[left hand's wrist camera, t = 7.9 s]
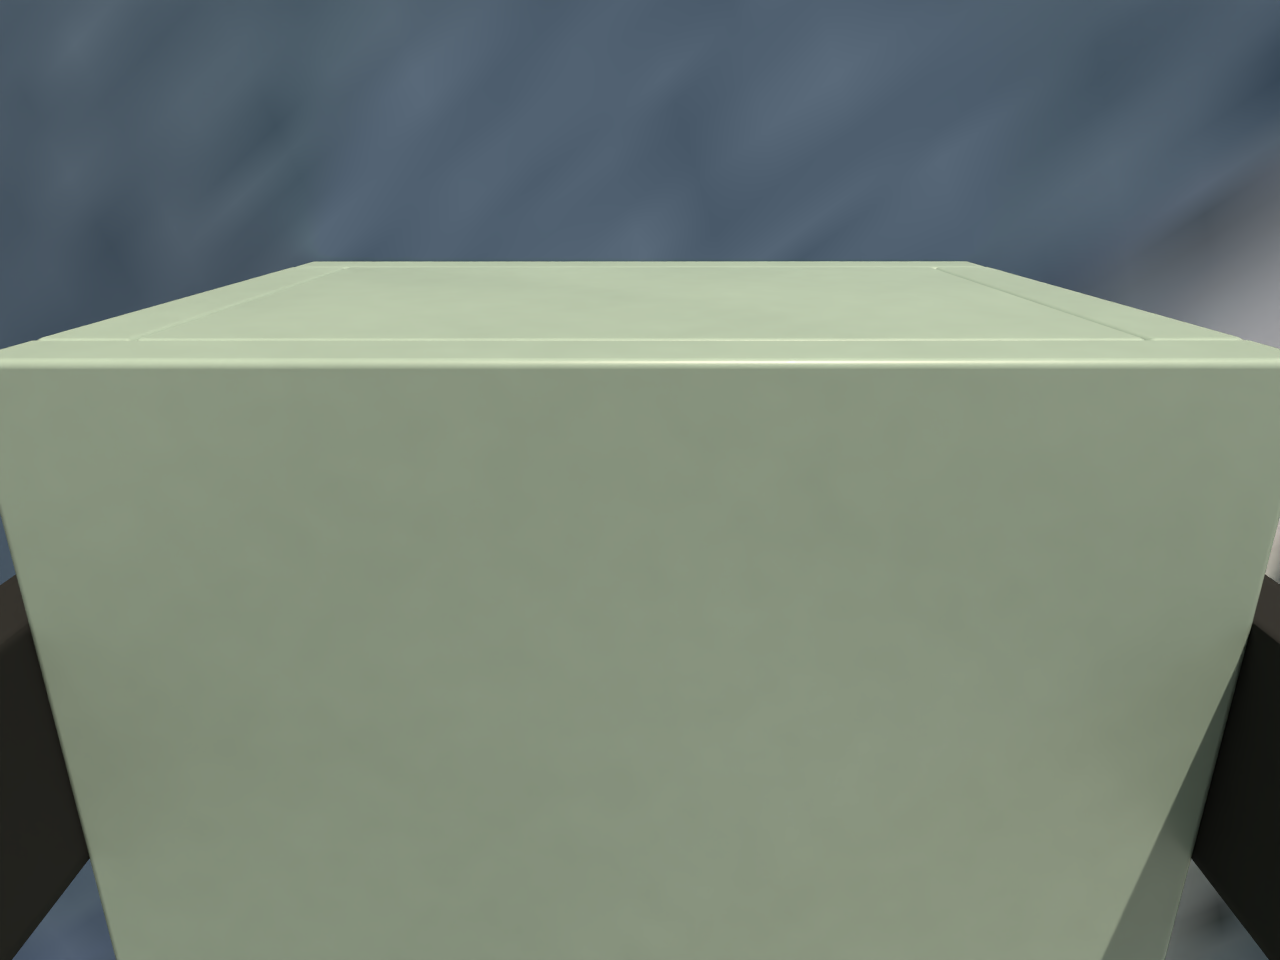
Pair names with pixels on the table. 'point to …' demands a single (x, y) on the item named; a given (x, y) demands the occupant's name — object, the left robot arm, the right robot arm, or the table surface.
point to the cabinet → (640, 608)
